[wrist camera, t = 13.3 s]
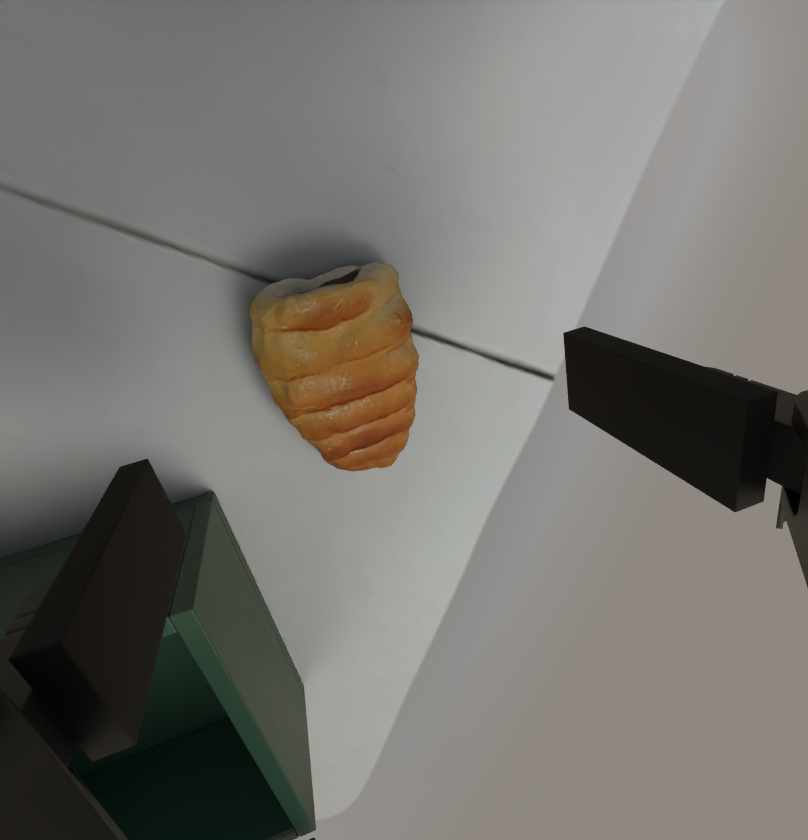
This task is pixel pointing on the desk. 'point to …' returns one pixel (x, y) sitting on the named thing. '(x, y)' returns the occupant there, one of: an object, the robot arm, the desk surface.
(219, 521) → the tin
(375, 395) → the pastry
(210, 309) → the desk surface
